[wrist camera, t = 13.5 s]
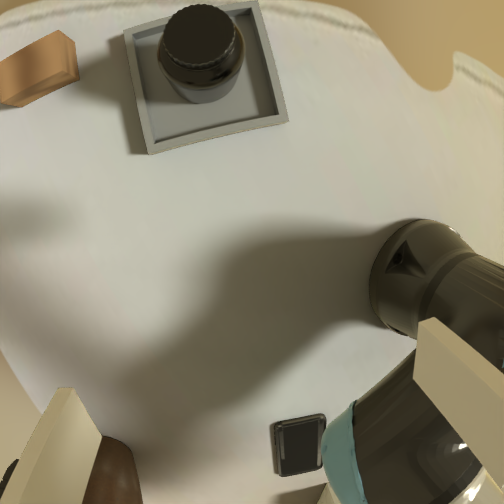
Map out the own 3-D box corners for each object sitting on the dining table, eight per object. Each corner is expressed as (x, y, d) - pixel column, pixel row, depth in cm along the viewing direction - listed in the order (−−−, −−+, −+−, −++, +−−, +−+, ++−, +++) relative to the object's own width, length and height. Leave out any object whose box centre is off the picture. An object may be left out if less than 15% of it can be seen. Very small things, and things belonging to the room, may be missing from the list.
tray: (254, 9, 27) (257, 0, 25) (283, 123, 31) (289, 121, 29) (128, 38, 27) (123, 30, 24) (153, 154, 31) (148, 154, 28)
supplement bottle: (156, 68, 28) (128, 25, 16) (213, 32, 27) (214, -25, 16) (194, 119, 30) (182, 97, 18) (251, 81, 29) (272, 43, 18)
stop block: (74, 42, 26) (58, 29, 22) (79, 79, 27) (62, 70, 23) (17, 70, 25) (-3, 63, 21) (21, 107, 27) (0, 103, 23)
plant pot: (95, 475, 43) (79, 542, 28) (51, 421, 39) (20, 494, 24) (168, 472, 44) (164, 550, 29) (130, 416, 40) (110, 506, 24)
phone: (326, 415, 42) (322, 468, 47) (324, 410, 44) (320, 464, 48) (274, 425, 42) (278, 478, 46) (272, 420, 43) (277, 473, 47)
